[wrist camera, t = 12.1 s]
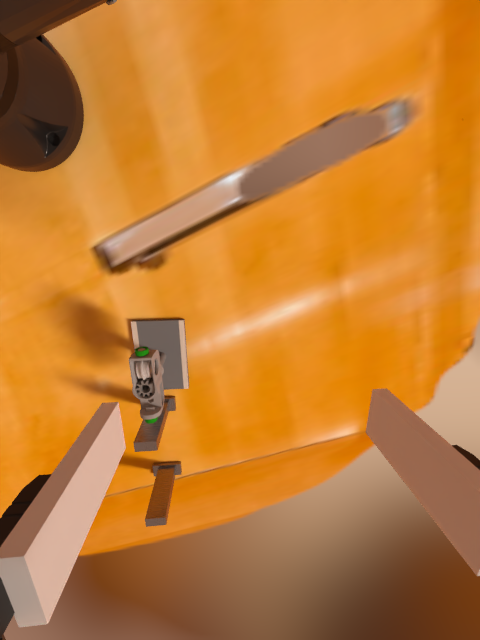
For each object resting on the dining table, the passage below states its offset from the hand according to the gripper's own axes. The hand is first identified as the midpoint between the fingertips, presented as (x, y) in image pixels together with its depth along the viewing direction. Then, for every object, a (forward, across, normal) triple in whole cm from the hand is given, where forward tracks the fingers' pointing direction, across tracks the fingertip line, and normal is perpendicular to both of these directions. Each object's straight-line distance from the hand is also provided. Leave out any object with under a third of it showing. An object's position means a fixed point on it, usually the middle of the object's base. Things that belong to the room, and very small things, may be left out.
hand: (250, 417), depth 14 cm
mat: (+29, -11, -9) cm, 32 cm away
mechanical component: (+28, -11, -9) cm, 32 cm away
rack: (+29, -12, -25) cm, 40 cm away
